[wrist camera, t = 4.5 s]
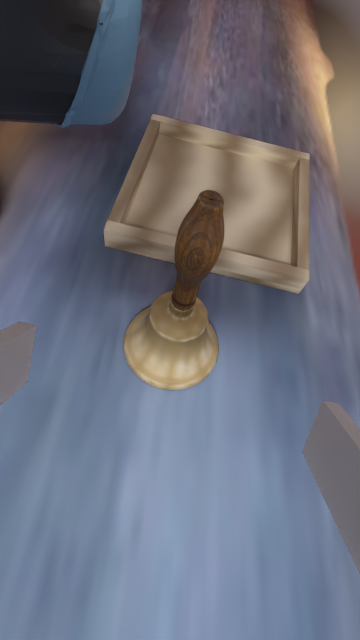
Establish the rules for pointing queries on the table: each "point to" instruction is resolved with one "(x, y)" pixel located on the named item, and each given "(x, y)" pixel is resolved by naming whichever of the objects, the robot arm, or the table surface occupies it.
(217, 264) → the tray
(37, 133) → the table surface
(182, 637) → the table surface
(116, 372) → the table surface
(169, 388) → the hand bell
